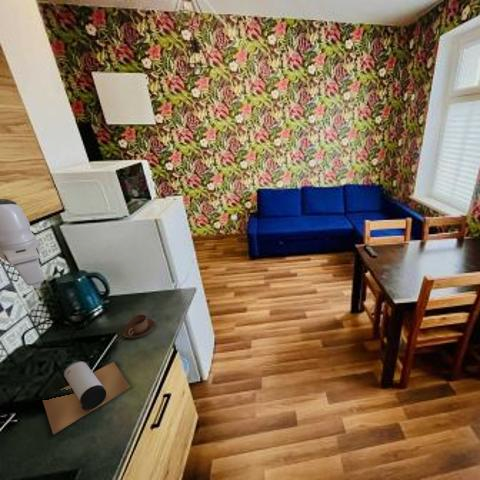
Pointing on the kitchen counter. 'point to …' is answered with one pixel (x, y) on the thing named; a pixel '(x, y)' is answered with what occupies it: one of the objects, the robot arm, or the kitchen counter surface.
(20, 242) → the robot arm
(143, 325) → the cup and saucer
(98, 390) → the travel mug
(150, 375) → the kitchen counter surface
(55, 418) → the cork mat
